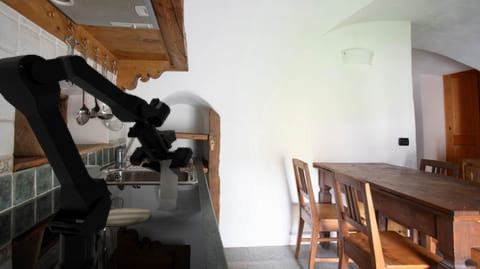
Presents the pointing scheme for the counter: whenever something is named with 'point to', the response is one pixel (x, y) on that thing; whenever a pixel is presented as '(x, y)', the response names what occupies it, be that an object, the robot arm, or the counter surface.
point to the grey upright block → (166, 204)
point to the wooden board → (127, 216)
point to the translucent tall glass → (168, 182)
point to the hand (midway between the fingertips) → (171, 174)
